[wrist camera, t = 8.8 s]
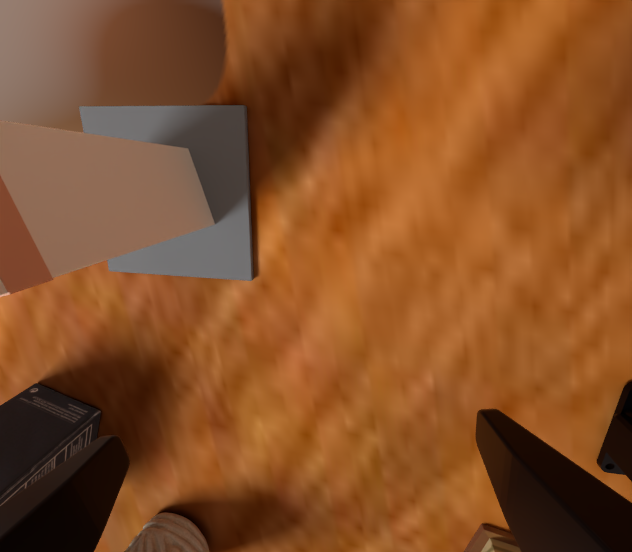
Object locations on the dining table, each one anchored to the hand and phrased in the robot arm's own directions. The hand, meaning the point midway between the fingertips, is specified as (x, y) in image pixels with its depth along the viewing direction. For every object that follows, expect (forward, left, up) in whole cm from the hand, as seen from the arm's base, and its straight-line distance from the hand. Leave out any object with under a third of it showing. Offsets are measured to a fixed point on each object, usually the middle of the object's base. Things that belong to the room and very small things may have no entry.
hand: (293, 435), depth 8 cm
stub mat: (+10, -5, -13) cm, 17 cm away
